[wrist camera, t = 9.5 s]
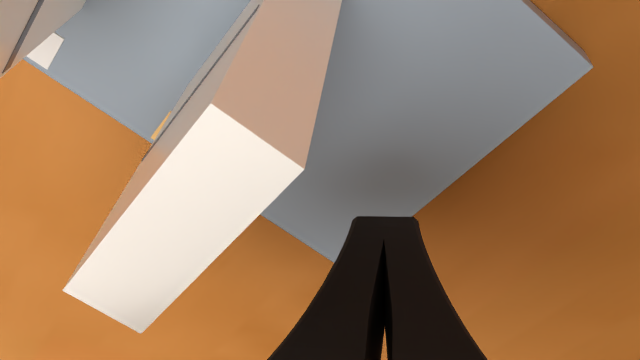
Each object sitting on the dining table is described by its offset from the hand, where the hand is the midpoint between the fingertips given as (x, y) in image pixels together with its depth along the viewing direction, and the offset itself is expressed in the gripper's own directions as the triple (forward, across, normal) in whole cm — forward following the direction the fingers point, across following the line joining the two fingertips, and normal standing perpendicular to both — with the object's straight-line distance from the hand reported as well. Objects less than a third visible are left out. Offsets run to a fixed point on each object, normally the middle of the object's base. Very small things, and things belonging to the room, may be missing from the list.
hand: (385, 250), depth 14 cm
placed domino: (+5, +3, -3) cm, 7 cm away
